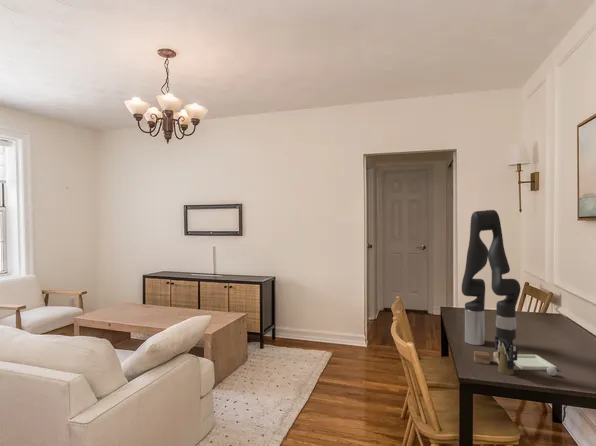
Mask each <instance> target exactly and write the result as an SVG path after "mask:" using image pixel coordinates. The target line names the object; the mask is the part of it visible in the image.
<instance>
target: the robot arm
mask: <svg viewBox="0 0 596 446" xmlns="http://www.w3.org/2000/svg"><path fill="white" fill-rule="evenodd" d="M499 215H500V214H499V213H498V212H497V210H495V209H485V210H477V211H473V212H472V214H471V217H470V225H469V242H468V247H467V252H466V262H465V269H464V274H463V277H462V282H461V293H462V295H463V296H465V297H475V299H473V300H471V301H468V302H465V303H464V343H466V344H469V345H473V346H483V345H485V301H486V300H485V299H486V283H485V280H484V279H482V278H474V276H476V275H477V274H478V273H479V272H481V271H482V270H483V269H484V268H485V267H486V265H487V262H488V263H489V267H490V269H491V290H492V292H493V293H494V295H496V296H499V297H503V296H504V297H505V298H504V299H502V300H499V301H497V302H496V311H495V312H496V315H495V336H494V346H495V347H494V348H495V351H496V352H498V361H499V358H500V352H499V347H500V346H501V345H502V347H503V348H504V352H505V354H506V356H507V368H508V369H513V370H514V365H515V364H514V361H517V354H518V351H519V350H518V349H519V348H518V346H517V345H514V343H513V341H514V340H516V339H517V318H516V311H517V310H516V306H517V303H518V300H519V297H520V293H521V284H520V282H519V281H518V280H517V279H515V278H503V276H504V275H507V274H508V273H510V271H511V269H510V264H509V261H508V257H507V255H506V250H505V246H504V237H503V231H502V226H501V219H500V216H499ZM484 231H491V232H492V242H491V243H490V247H489V249H488V247H487V245H486V244H485V243H484V241H483V240H482V238H481V236H480V235H481V234H480V233H481V232H484ZM507 351H510V352H507ZM509 354H510V357H509ZM514 355H515V357H514Z"/></svg>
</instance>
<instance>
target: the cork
mask: <svg viewBox="0 0 596 446" xmlns="http://www.w3.org/2000/svg"><path fill="white" fill-rule="evenodd" d="M499 352H500V358H499V364H498V366H497V372H498V373H500V374H502V375H504V376H505V375H506V376H512V375H514V374H515V371H514V368H513V369H508V368H507V356H506V354H505V352H504V348H503V347H502V345H501V346H500V347H499ZM507 352H510V351H507ZM509 357H510V354H509Z"/></svg>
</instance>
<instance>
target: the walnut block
mask: <svg viewBox="0 0 596 446" xmlns="http://www.w3.org/2000/svg"><path fill="white" fill-rule="evenodd" d="M473 362H474V363H477V364H485V365H491V355H490V353H489V352H487V351H476V350H474V351H473Z"/></svg>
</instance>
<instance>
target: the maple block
mask: <svg viewBox="0 0 596 446" xmlns="http://www.w3.org/2000/svg"><path fill="white" fill-rule="evenodd" d="M493 362H495V363H496V364H498V365H499V361H498V352H497V351H494V352H493Z"/></svg>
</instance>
